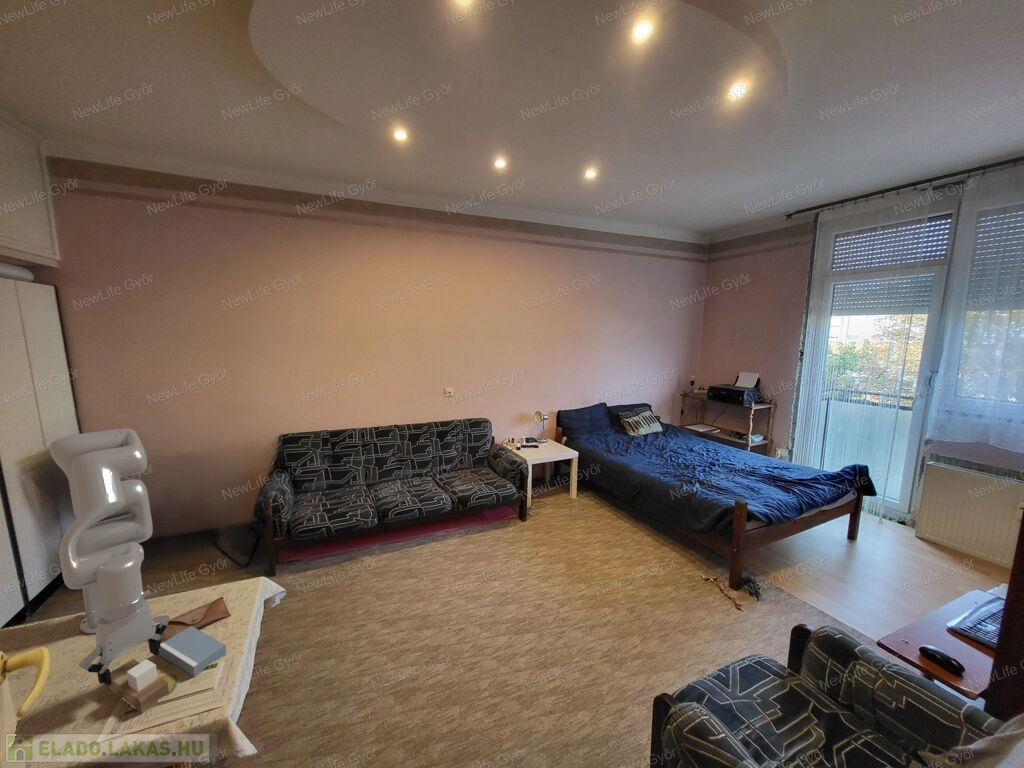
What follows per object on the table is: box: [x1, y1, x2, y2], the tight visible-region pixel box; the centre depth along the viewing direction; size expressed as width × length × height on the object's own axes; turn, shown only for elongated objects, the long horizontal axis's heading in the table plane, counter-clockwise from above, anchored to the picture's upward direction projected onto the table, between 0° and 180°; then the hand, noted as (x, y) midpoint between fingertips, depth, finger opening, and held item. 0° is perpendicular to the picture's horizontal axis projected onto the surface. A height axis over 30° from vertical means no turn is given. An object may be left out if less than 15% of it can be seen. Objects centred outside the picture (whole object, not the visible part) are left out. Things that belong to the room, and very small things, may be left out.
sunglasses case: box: [155, 596, 232, 644], centre depth 122 cm, size 18×7×7 cm, turn 143°
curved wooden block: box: [106, 658, 170, 715], centre depth 100 cm, size 16×6×4 cm, turn 66°
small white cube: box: [127, 658, 158, 692], centre depth 99 cm, size 4×4×4 cm
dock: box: [159, 626, 227, 677], centre depth 111 cm, size 16×8×3 cm, turn 67°
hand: (131, 667), depth 100 cm, fingers open, 9 cm apart
